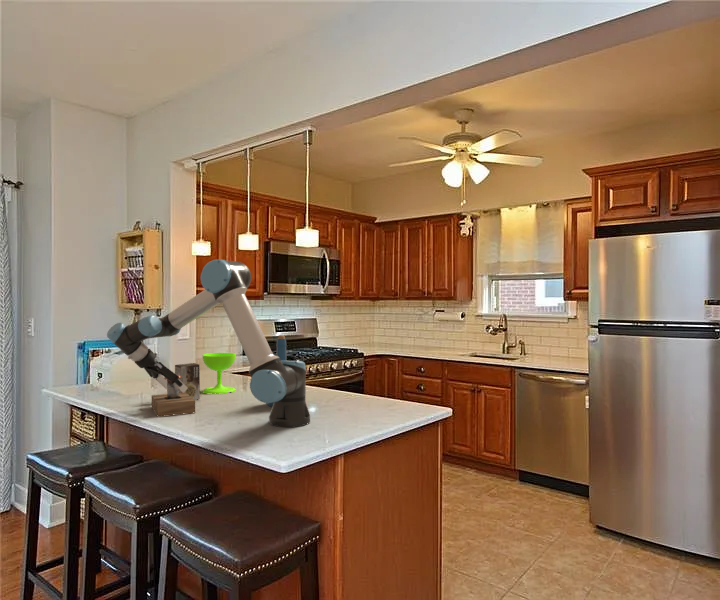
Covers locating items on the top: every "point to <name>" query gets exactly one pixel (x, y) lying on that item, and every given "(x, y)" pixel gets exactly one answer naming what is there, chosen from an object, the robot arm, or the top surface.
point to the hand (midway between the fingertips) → (176, 388)
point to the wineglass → (219, 369)
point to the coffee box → (189, 378)
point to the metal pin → (172, 389)
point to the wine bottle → (280, 353)
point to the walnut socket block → (173, 404)
